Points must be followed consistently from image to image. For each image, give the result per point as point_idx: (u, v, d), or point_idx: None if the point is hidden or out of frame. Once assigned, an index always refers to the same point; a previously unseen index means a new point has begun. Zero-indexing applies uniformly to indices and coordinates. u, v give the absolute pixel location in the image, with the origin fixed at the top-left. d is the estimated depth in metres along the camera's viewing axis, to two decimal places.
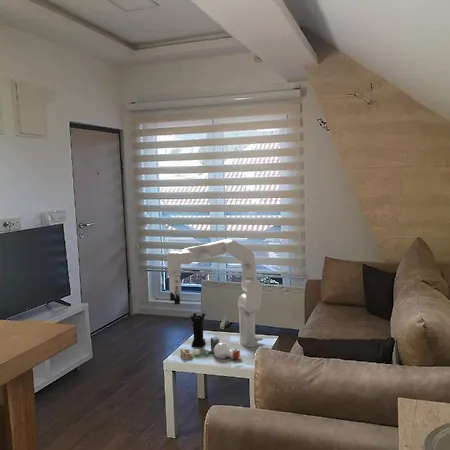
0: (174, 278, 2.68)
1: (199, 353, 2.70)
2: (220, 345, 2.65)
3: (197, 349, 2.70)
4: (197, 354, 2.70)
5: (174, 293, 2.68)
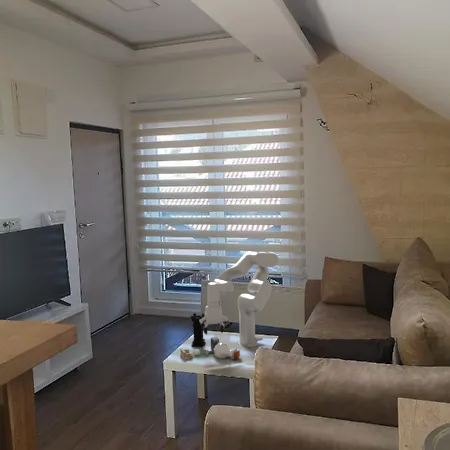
0: (221, 307, 2.73)
1: (199, 353, 2.70)
2: (220, 345, 2.65)
3: (197, 349, 2.70)
4: (197, 354, 2.70)
5: (222, 322, 2.74)
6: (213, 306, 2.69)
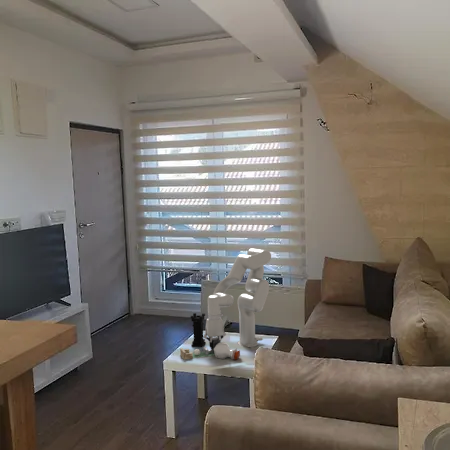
0: None
1: (199, 353, 2.70)
2: (220, 345, 2.65)
3: (197, 349, 2.70)
4: (197, 354, 2.70)
5: (220, 336, 2.74)
6: (214, 319, 2.70)
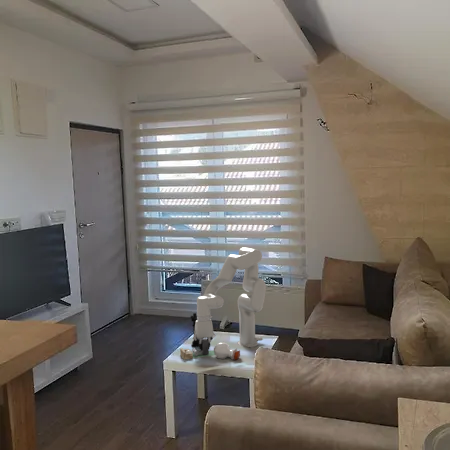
0: (211, 321, 2.72)
1: (188, 352, 2.68)
2: (220, 345, 2.65)
3: None
4: (190, 352, 2.68)
5: (209, 338, 2.72)
6: (203, 320, 2.67)
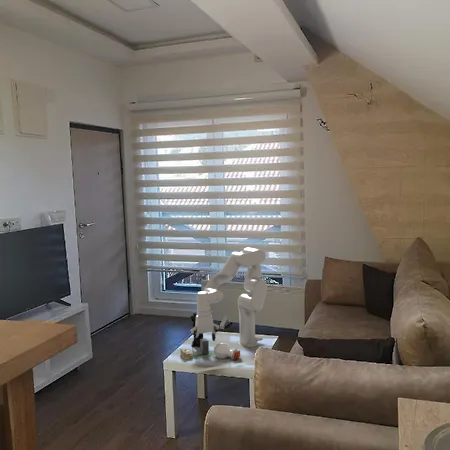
0: None
1: None
2: (220, 345, 2.65)
3: None
4: (189, 352, 2.68)
5: (213, 330, 2.72)
6: (203, 316, 2.67)
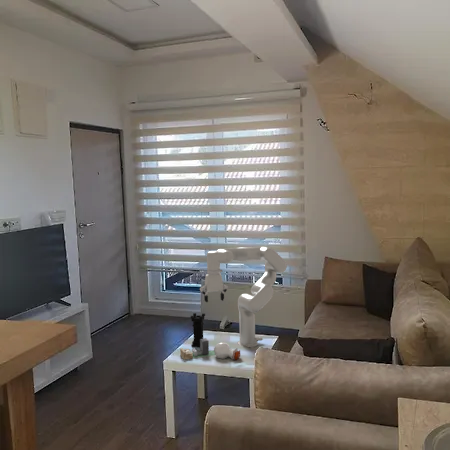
0: None
1: None
2: (221, 345, 2.65)
3: None
4: (188, 352, 2.68)
5: (222, 290, 2.78)
6: (213, 274, 2.73)
